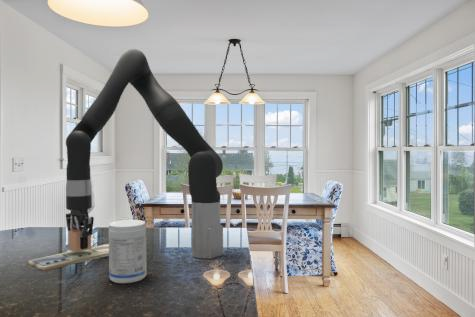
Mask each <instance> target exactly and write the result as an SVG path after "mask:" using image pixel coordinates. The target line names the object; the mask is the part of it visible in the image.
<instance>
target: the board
mask: <svg viewBox="0 0 475 317" xmlns="http://www.w3.org/2000/svg"><path fill="white" fill-rule="evenodd" d="M106 257H109V243H104V244H99V245H95V246H91V249H88V250H84V251H79V252H74V251H71V250H69V251H65V252H61V253H57V254H56V253H55V254H51V255H47V256H40V257H37V258H33V259H31V258H30V259H27V260H26V264H28V265H30V266H33V267H34V268H36V269H38V270H39V269H40V270H42V271H44V272H45V271H49V270H53V269H58V268H62V267H66V266H71V265H75V264H79V263H83V262H87V261H91V260H95V259H101V258H106Z"/></svg>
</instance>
